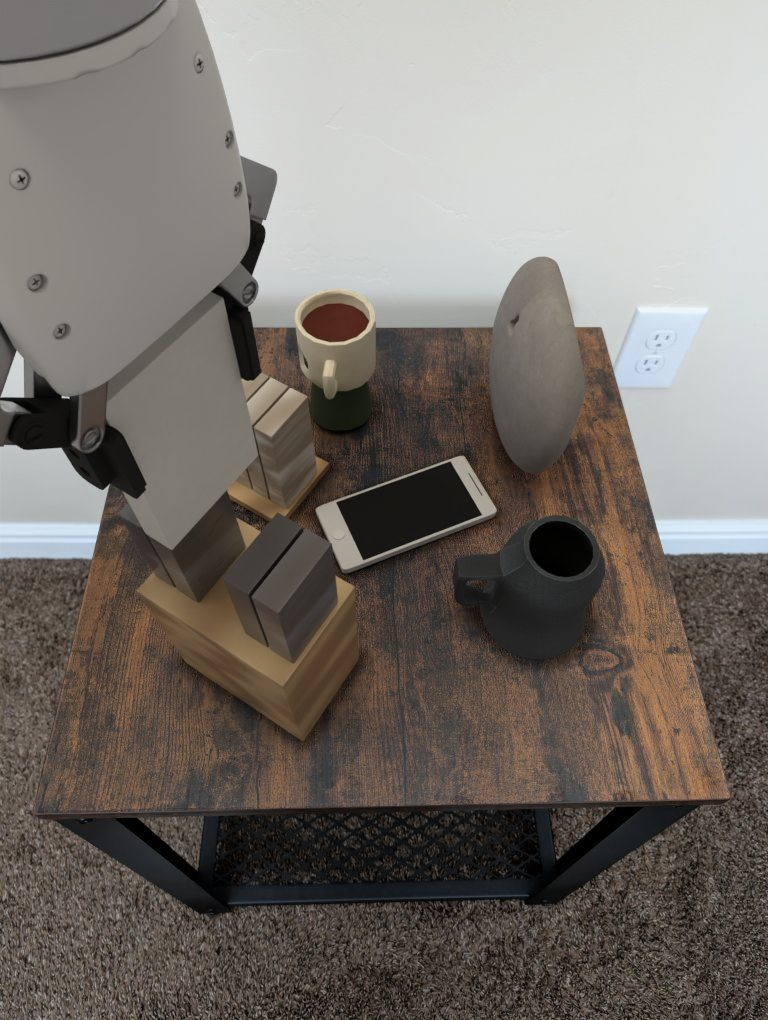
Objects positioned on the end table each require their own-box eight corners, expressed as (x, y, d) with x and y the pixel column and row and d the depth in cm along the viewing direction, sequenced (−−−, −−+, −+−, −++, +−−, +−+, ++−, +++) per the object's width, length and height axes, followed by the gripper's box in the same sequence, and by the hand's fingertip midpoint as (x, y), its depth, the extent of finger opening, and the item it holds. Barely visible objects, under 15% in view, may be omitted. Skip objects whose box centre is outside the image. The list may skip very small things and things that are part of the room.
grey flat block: (144, 533, 35) (65, 387, 26) (232, 440, 39) (189, 280, 29) (172, 550, 35) (101, 408, 26) (258, 455, 38) (223, 297, 29)
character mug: (315, 369, 75) (304, 270, 64) (381, 374, 75) (382, 276, 64) (298, 451, 69) (283, 358, 58) (369, 457, 69) (368, 365, 58)
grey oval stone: (567, 510, 66) (629, 373, 50) (493, 513, 66) (531, 376, 50) (535, 364, 76) (577, 210, 60) (469, 366, 76) (495, 212, 60)
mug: (575, 560, 63) (611, 493, 54) (594, 658, 59) (637, 603, 49) (443, 563, 63) (454, 496, 53) (451, 661, 58) (465, 607, 49)
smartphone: (315, 512, 66) (314, 506, 65) (462, 459, 69) (463, 453, 68) (343, 575, 62) (343, 570, 61) (497, 516, 66) (498, 511, 65)
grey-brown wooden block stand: (165, 461, 69) (128, 378, 58) (217, 408, 72) (191, 320, 62) (280, 528, 65) (262, 451, 55) (329, 468, 68) (321, 385, 58)
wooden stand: (185, 662, 58) (94, 530, 39) (245, 588, 62) (188, 434, 43) (303, 741, 55) (265, 639, 36) (359, 658, 58) (351, 525, 40)
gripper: (139, -190, 21) (233, 279, 37) (-485, 49, 14) (-36, 519, 29) (344, -135, 19) (353, 337, 35) (-250, 183, 12) (100, 612, 27)
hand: (176, 417), depth 32 cm, fingers closed on grey flat block, 7 cm apart
